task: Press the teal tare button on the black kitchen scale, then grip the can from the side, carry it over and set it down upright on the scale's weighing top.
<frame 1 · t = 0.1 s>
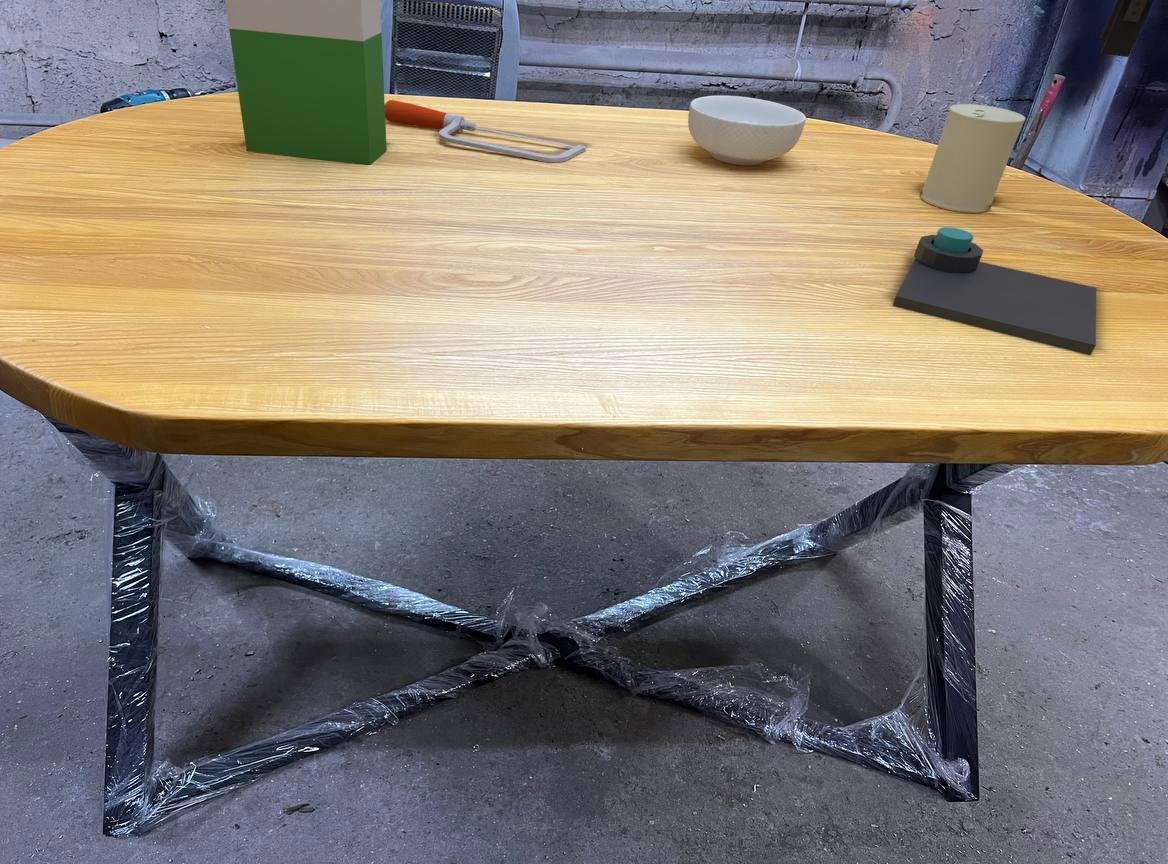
hand: (1113, 47, 95), 21 cm above the table, tool pointing down, fingers open, 13 cm apart
tare button: (952, 240, 90), point 4 cm above the table, slide at 0.2 cm
cereal bowl: (737, 159, 125), on the table
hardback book: (318, 152, 116), on the table
scale: (994, 302, 86), on the table
can: (954, 203, 113), on the table
hand saw: (475, 142, 124), on the table
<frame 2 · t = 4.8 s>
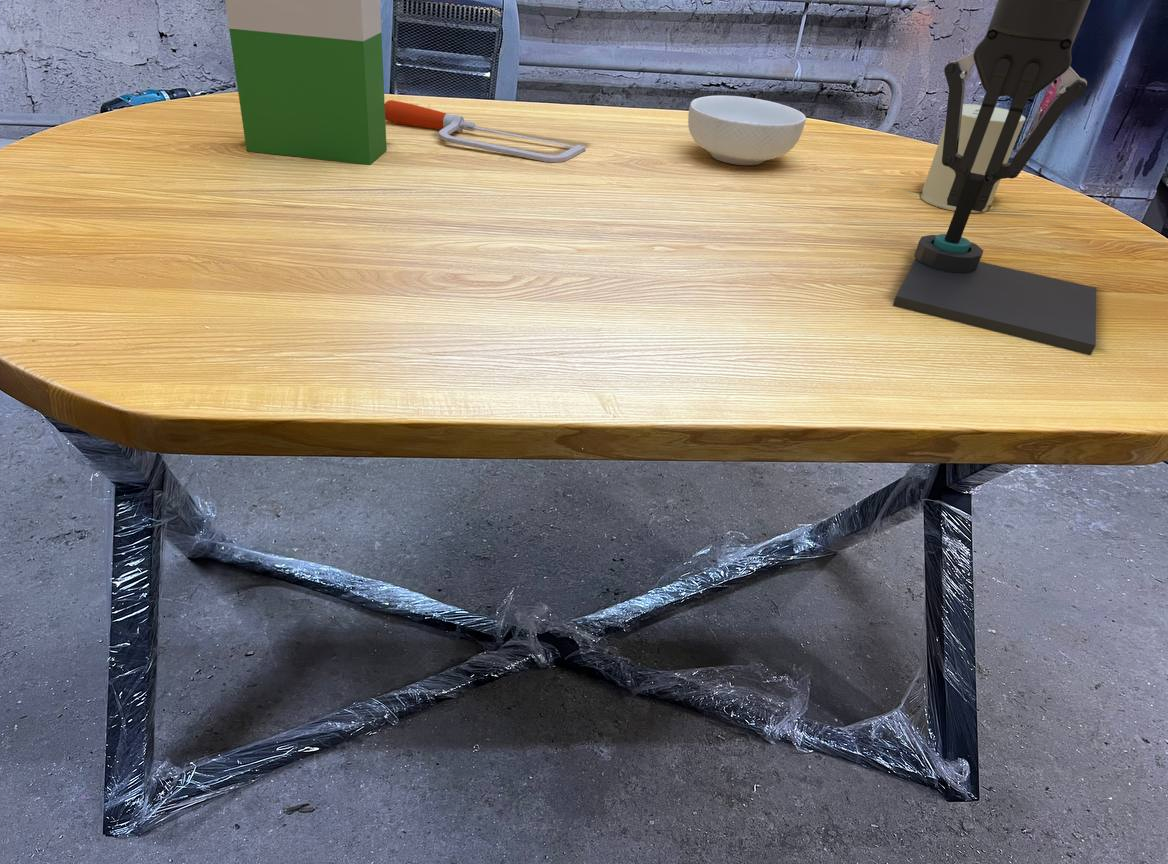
hand: (953, 237, 90), 4 cm above the table, tool pointing down, fingers closed
tare button: (950, 247, 90), point 3 cm above the table, slide at -0.6 cm, touching gripper
everything else where it was.
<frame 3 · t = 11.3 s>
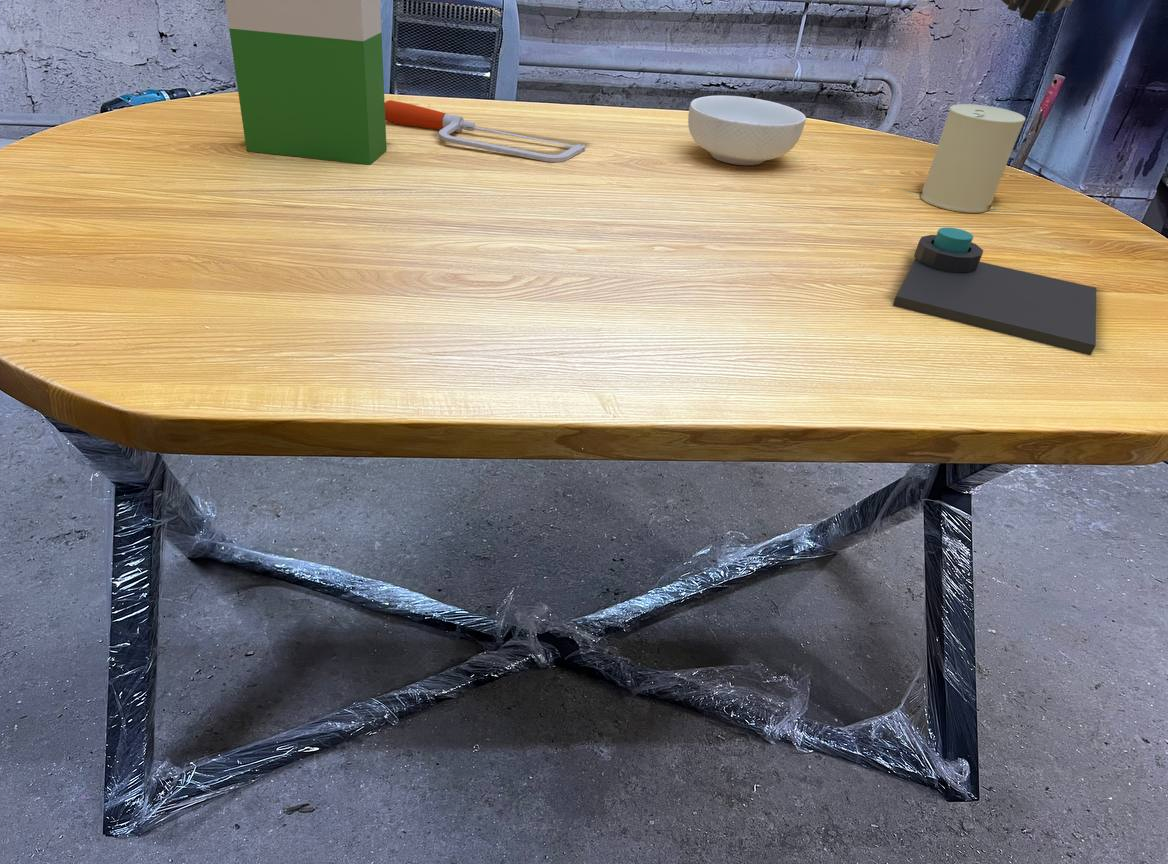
hand: (1032, 7, 101), 23 cm above the table, tool horizontal, fingers closed
tare button: (952, 240, 90), point 4 cm above the table, slide at 0.1 cm
everything else where it was.
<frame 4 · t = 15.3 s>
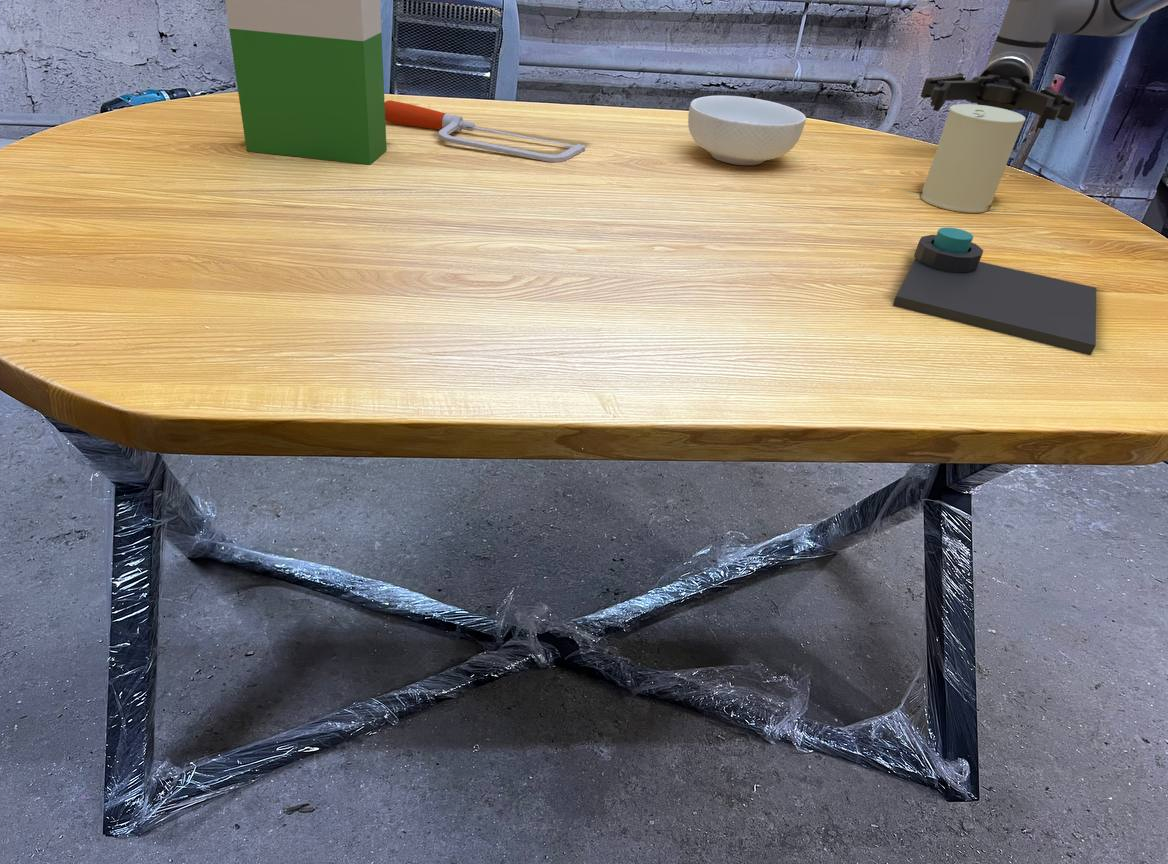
hand: (990, 108, 114), 10 cm above the table, tool horizontal, fingers open, 13 cm apart
nothing on the table moved.
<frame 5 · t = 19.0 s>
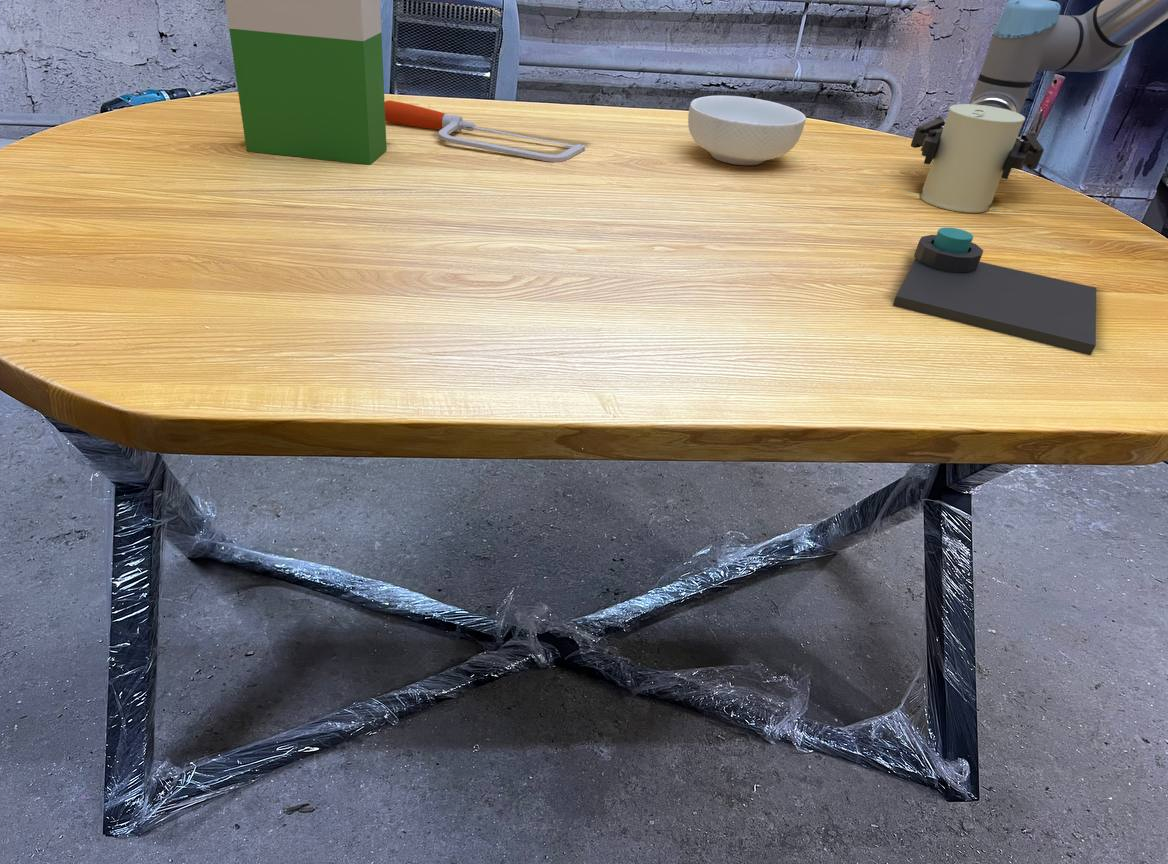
hand: (968, 160, 106), 7 cm above the table, tool horizontal, fingers closed on can, 9 cm apart
can: (954, 203, 113), on the table, touching gripper
everything else where it was.
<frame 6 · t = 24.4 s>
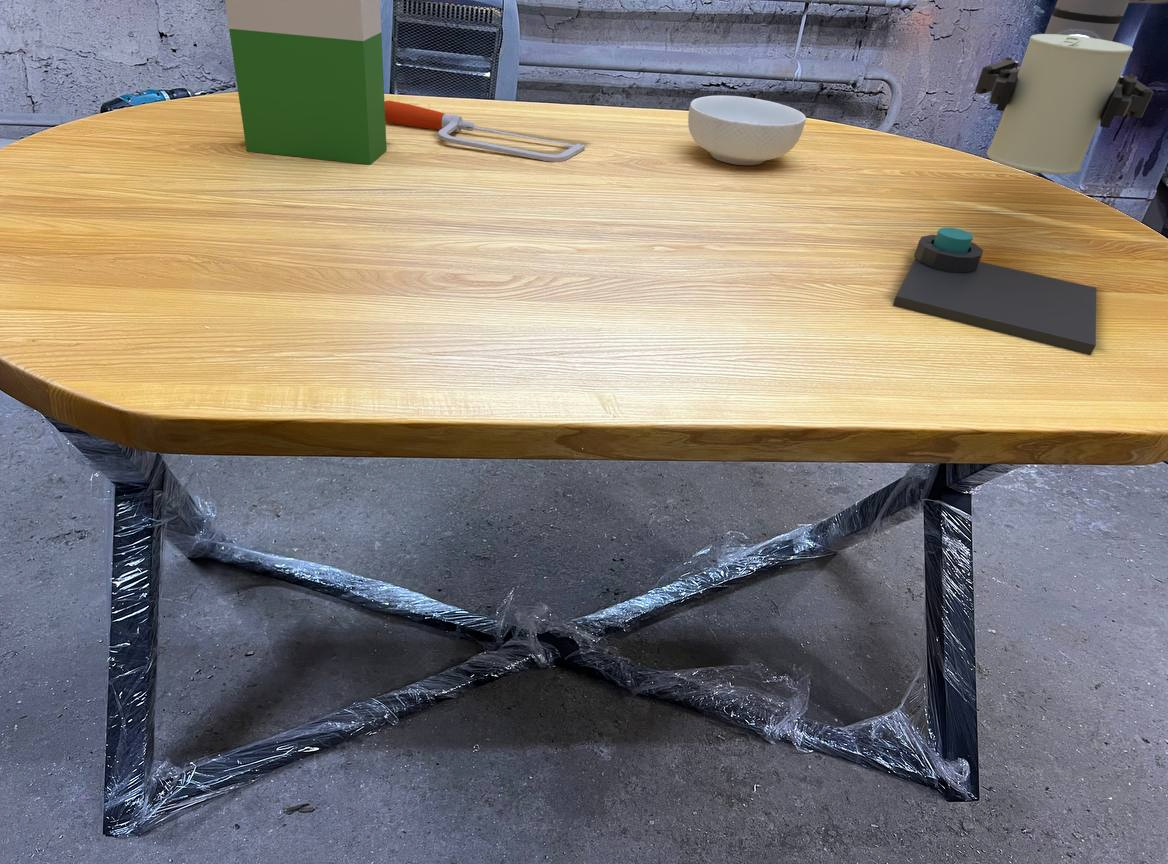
hand: (1057, 104, 81), 18 cm above the table, tool horizontal, fingers closed on can, 9 cm apart
can: (1031, 163, 89), point 11 cm above the table, touching gripper
everything else where it was.
when the fingers open (8 cm above the table, at t = 29.8 s): can stays where it is, resting on scale.
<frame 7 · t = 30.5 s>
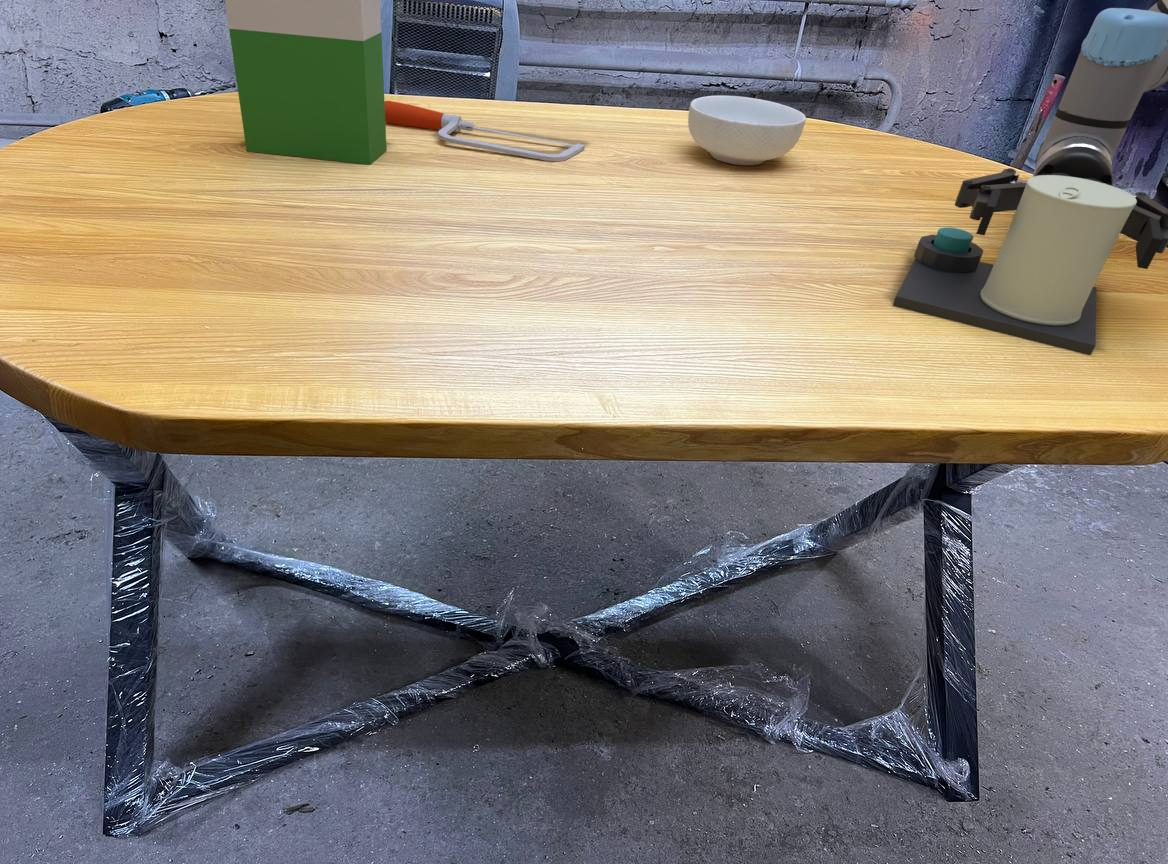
hand: (1065, 236, 76), 9 cm above the table, tool horizontal, fingers open, 13 cm apart
can: (1027, 307, 83), point 1 cm above the table, touching scale
everything else where it was.
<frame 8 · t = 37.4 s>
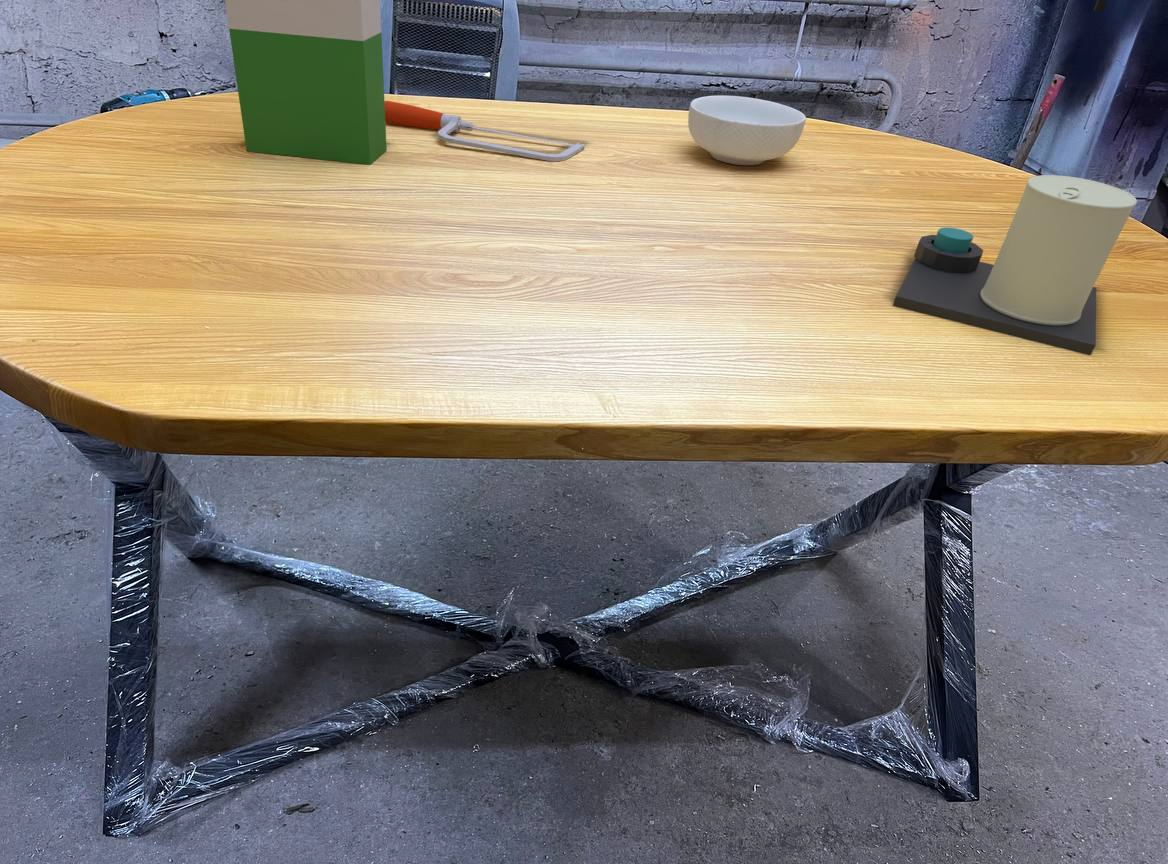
nothing on the table moved.
at the end: tare button pushed in 1.0 cm at the most during the clip, back to where it started at the end; can inside the target area on the scale (3.5 cm from its centre), point 1.0 cm above the scale's base; can touching scale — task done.
